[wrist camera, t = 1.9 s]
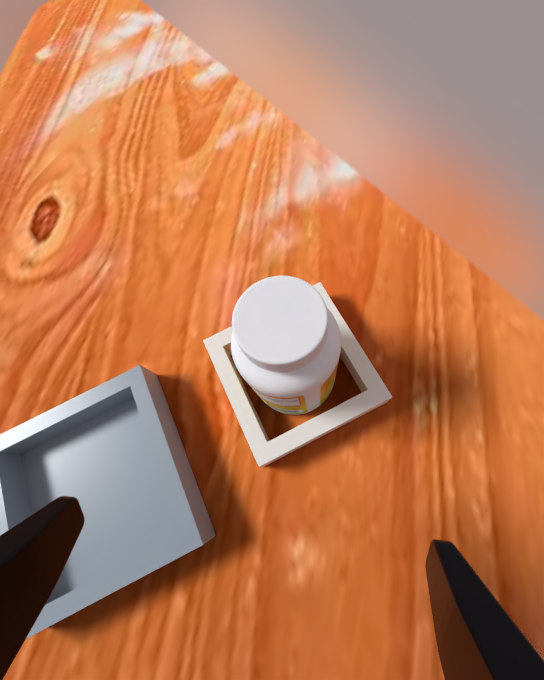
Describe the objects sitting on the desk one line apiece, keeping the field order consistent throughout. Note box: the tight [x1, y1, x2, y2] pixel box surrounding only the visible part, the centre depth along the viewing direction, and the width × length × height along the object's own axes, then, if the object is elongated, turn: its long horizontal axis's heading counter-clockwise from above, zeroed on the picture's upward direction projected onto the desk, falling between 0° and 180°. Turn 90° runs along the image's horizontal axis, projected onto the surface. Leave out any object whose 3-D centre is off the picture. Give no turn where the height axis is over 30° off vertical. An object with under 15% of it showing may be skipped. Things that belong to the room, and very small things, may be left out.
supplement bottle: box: [231, 276, 341, 415], centre depth 19 cm, size 5×5×10 cm
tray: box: [0, 365, 216, 638], centre depth 21 cm, size 11×11×2 cm
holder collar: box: [203, 282, 392, 467], centre depth 22 cm, size 9×9×2 cm
